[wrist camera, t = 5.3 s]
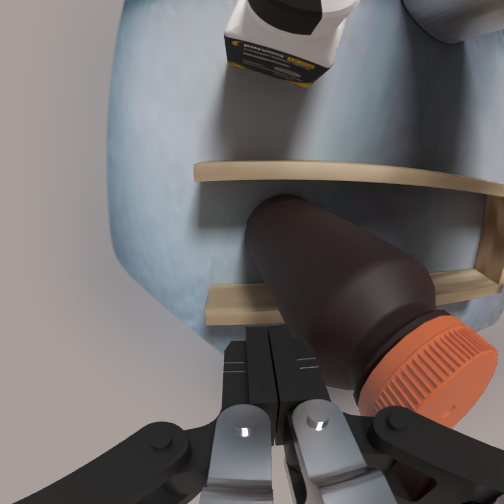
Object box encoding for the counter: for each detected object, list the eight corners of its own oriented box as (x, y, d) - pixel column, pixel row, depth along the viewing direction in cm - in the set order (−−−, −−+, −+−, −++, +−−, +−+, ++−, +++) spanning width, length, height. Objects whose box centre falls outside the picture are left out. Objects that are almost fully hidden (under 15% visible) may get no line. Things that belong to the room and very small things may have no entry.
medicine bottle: (226, 65, 20) (216, -4, 9) (251, 3, 18) (261, -80, 7) (307, 89, 21) (364, 44, 10) (327, 27, 19) (383, -38, 8)
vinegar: (234, 206, 23) (359, 407, 5) (310, 184, 24) (533, 283, 5) (255, 278, 26) (354, 492, 7) (324, 254, 26) (484, 409, 8)
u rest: (202, 161, 23) (193, 164, 18) (493, 181, 24) (521, 189, 19) (211, 295, 27) (206, 325, 22) (477, 276, 28) (500, 293, 23)
